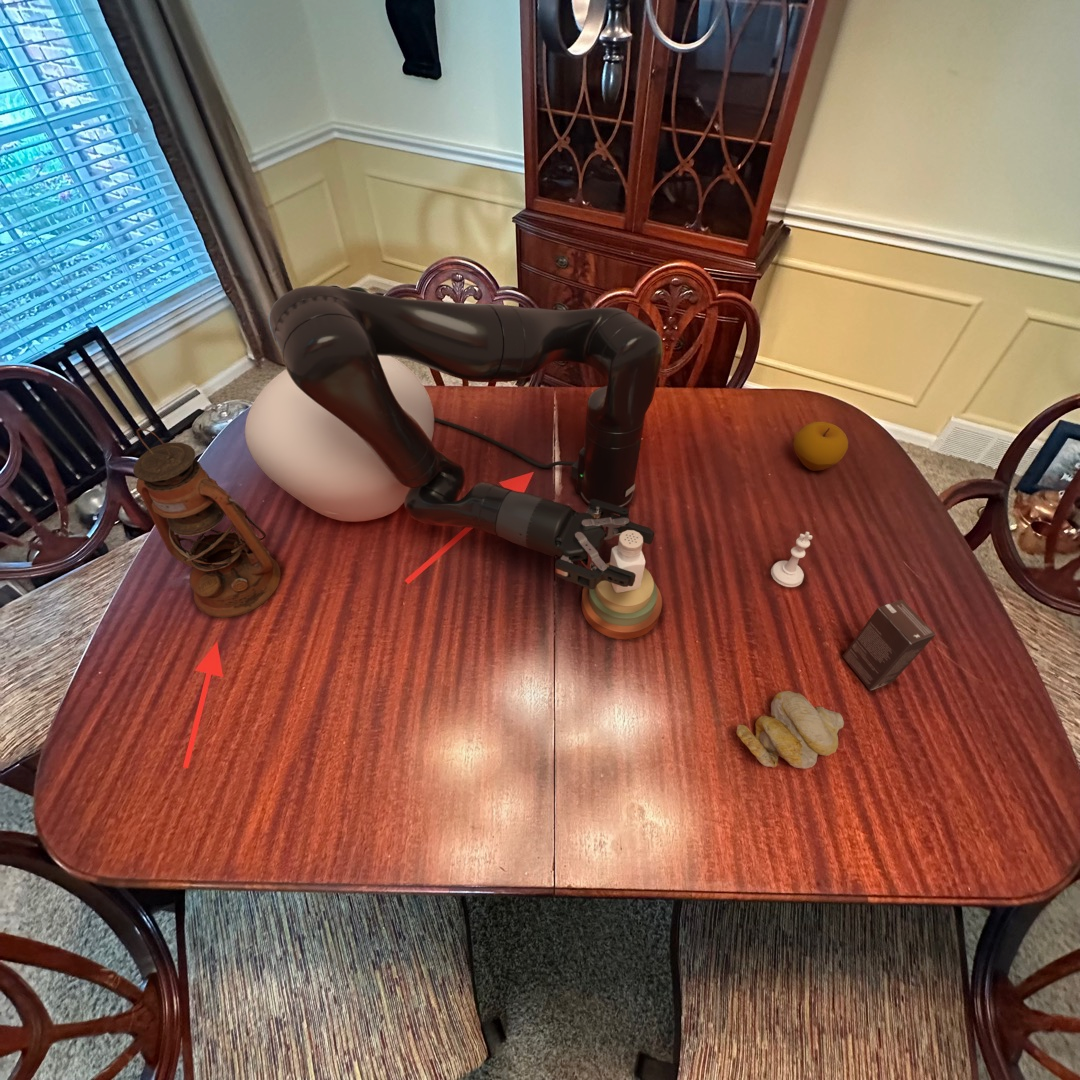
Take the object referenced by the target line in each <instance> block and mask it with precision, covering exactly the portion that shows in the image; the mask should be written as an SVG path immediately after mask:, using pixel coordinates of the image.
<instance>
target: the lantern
mask: <svg viewBox="0 0 1080 1080" xmlns="http://www.w3.org/2000/svg"><path fill="white" fill-rule="evenodd" d="M140 431H144V432H147V433H149V434H151V435H153V436H155V437H156V438H157V440H159V442H160V443H161V444H158V445H156V446H153V447H151V448H150V447H149V446H148V445H147V444H146V442H145V440H144V439H142V437H141V434H140ZM136 434H137V436H138V438H139V440H140V442H141V443H142V444H143V445H144V447H145V448H146V449H147V451H146V452H144V453H143V454H142V455H140V457H138V458H137V460H136V461H135V463H134V465H133V471H132V473H133V474H134V476H135V477H136V478H137V481H136V484H135V485H136V487H135V489H136V491H137V493H138V494H139V495H140V497H141V499H142V501H143V503H144V505H145V508H146V509H147V511H148V513H149V516H150V518H151V519H152V521H153V524H154V526H155V528H156V530H157V532H158V533H159V535H160V537H161V540H162V541H163V544H164V545H165V547H166V549H167V551H168V552H169V553H170V555H172V556H173V558H175V559H176V560H178V561H179V562H180V563H183V564H185V565H187V566H189V567H191V570H190V573H189V585H190V587H191V590H192V591H193V600H194V604H195V607H197V608H198V609H199V610H200V612H202V613H204V614H206V615H207V616H210V617H214V618H220V619H221V618H233V617H238V616H241V615H244V614H247V613H250V612H252V611H254V610H256V609H257V608H259V607H260V606H262V605H263V604H265V602H267V601H268V599H270V597H272V595H273V594H274V593H275V591H276V590H277V589H278V586H279V583H280V581H281V568H280V565H279V563H278V562H277V561H276V559H274V558H273V557H272V555H271V553H270V551H269V550H268V549H267V548H266V546H265V545H264V543H263V542H262V540H264V539H266V537H267V535H266V532H265V531H264V530H263V529H262V528H261V527H260V526H259V525H258V524H257V523H256V522H255V521H254V520H253V519H251V517H250V516H249V515H248V514H247V510H246V509H245V508H244V507H243V506H242V505H241V504H240V503H239V502H238V501H237V500H235V499H234V498H232V496H231V494H229V493H228V492H227V491H226V490H225V489H224V488H222V486H219V484H218V482H217V481H216V480H215V479H213V478H211V477H210V476H209V474H208V473H207V472H206V470H205V469H204V468H203V467H202V465H201V464H200V462H199V460H196V459H195V457H196V450H195V449H194V448H193V447H192V446H191V445H190V444H187V443H184V442H181V441H179V442H164V441H163V440H162V439H161V438H160V437H159V436H158V435H156V433H154V432H153V431H151V430H149V429H147V428H145V427H140V428H138V429H136ZM225 516H226V517H227V519H228V520H229V521H230V525H229V527H228V528H227V530H226V531H220V530H216V529H214V528H215V527H217V526H218V525H219V524H220V522H222V520H223V519H224V518H225ZM251 525H252V526H253V527H254V528H255V529H257V530H258V531H259V532H260V533H261V535H262V537H259V536H258V534H257V533H256V531H255V530H254V529H253V527H252V526H251ZM233 528H235V530H234V531H232V529H233ZM208 531H210V532H213V533H211V534H208V535H206V534H207V532H208ZM198 535H199V536H198ZM180 536H181V537H180ZM193 536H197V539H196V540H193V539H191V538H186V537H193ZM181 541H186V542H189V543H192V544H193V545H192V546H191V547H190V548H189V550H187V549H185V548H184V546H183V545H182V543H181ZM229 556H230V557H229ZM224 558H226V559H224ZM223 559H224V560H223Z"/></svg>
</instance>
